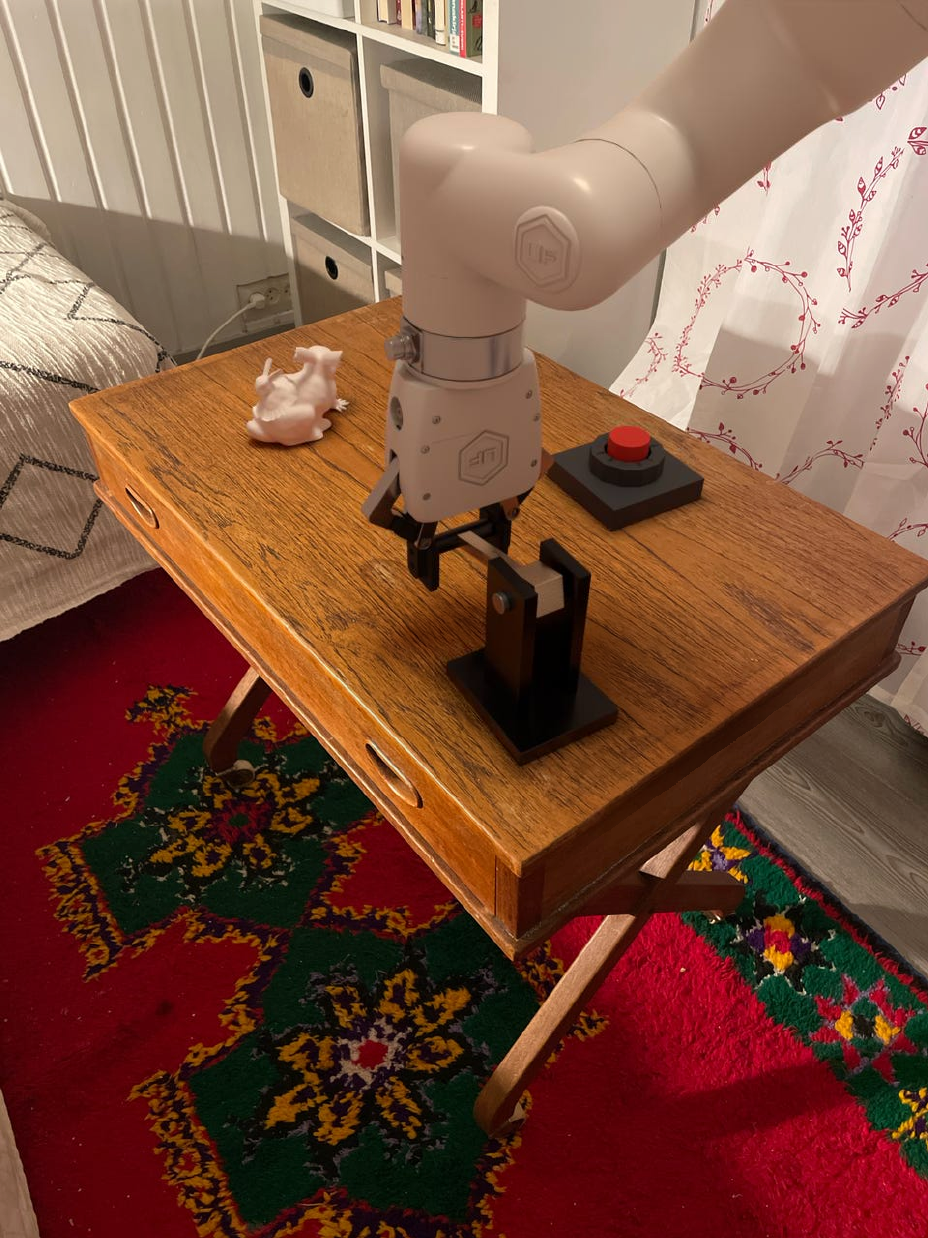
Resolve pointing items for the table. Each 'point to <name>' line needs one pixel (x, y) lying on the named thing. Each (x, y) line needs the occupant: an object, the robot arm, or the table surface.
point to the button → (628, 444)
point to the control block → (624, 482)
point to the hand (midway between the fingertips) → (459, 566)
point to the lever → (533, 573)
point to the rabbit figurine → (297, 398)
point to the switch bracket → (533, 662)
